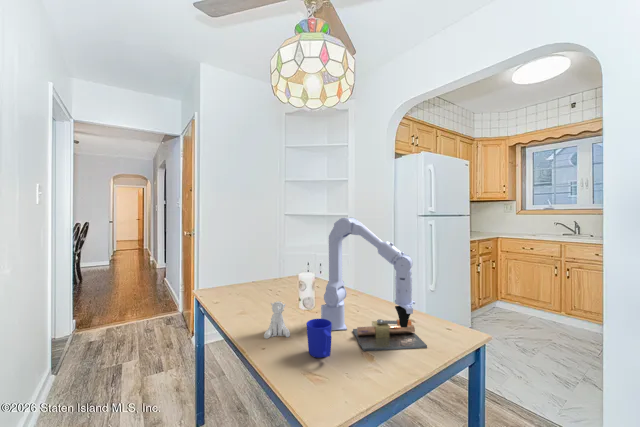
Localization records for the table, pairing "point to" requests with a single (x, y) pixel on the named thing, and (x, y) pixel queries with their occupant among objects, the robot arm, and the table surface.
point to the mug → (319, 337)
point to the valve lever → (392, 322)
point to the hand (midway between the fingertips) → (403, 326)
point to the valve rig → (387, 337)
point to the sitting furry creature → (277, 322)
